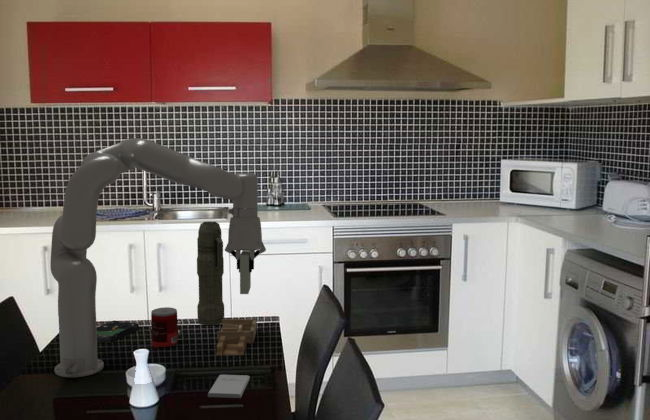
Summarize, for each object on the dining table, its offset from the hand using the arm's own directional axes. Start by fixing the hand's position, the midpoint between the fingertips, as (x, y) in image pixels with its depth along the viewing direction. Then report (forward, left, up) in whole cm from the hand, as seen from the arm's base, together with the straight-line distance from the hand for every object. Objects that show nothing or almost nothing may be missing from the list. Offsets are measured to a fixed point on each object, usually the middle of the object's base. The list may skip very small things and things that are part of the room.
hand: (245, 271), depth 201 cm
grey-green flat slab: (0, 0, -6) cm, 6 cm away
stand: (-12, +3, -22) cm, 25 cm away
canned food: (-6, +24, -22) cm, 33 cm away
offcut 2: (+3, +5, -21) cm, 22 cm away
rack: (0, +3, -22) cm, 22 cm away
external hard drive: (-39, +1, -23) cm, 45 cm away
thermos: (+16, +13, -22) cm, 30 cm away
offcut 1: (-3, +5, -19) cm, 20 cm away
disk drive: (+5, +43, -23) cm, 49 cm away
